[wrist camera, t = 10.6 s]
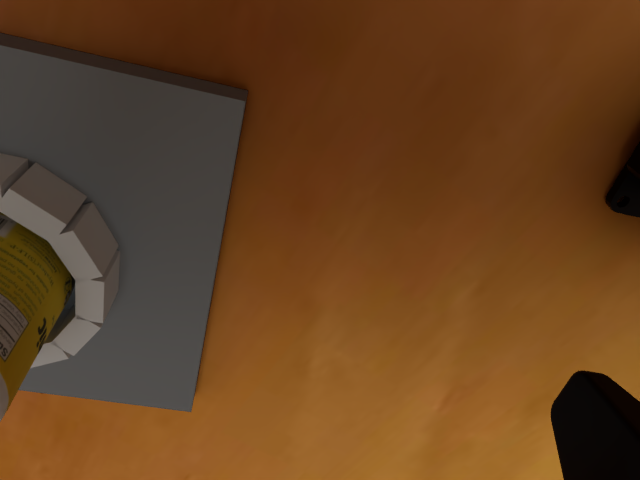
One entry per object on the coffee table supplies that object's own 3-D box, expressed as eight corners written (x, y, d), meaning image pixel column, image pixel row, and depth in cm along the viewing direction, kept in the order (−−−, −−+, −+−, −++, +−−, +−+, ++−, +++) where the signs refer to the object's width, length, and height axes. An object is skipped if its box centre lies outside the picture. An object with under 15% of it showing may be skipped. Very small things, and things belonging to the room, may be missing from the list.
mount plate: (248, 90, 18) (240, 122, 15) (194, 392, 26) (183, 447, 24) (-278, -32, 16) (-398, -20, 13) (-154, 346, 24) (-211, 401, 21)
